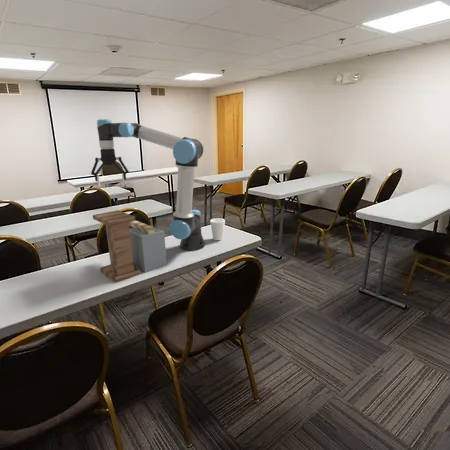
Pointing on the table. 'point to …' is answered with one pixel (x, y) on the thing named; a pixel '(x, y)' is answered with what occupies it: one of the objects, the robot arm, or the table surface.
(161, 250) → the grey block
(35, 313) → the table surface
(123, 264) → the walnut stand
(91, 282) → the table surface
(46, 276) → the table surface
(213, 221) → the foam cup
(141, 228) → the notched tan bar
